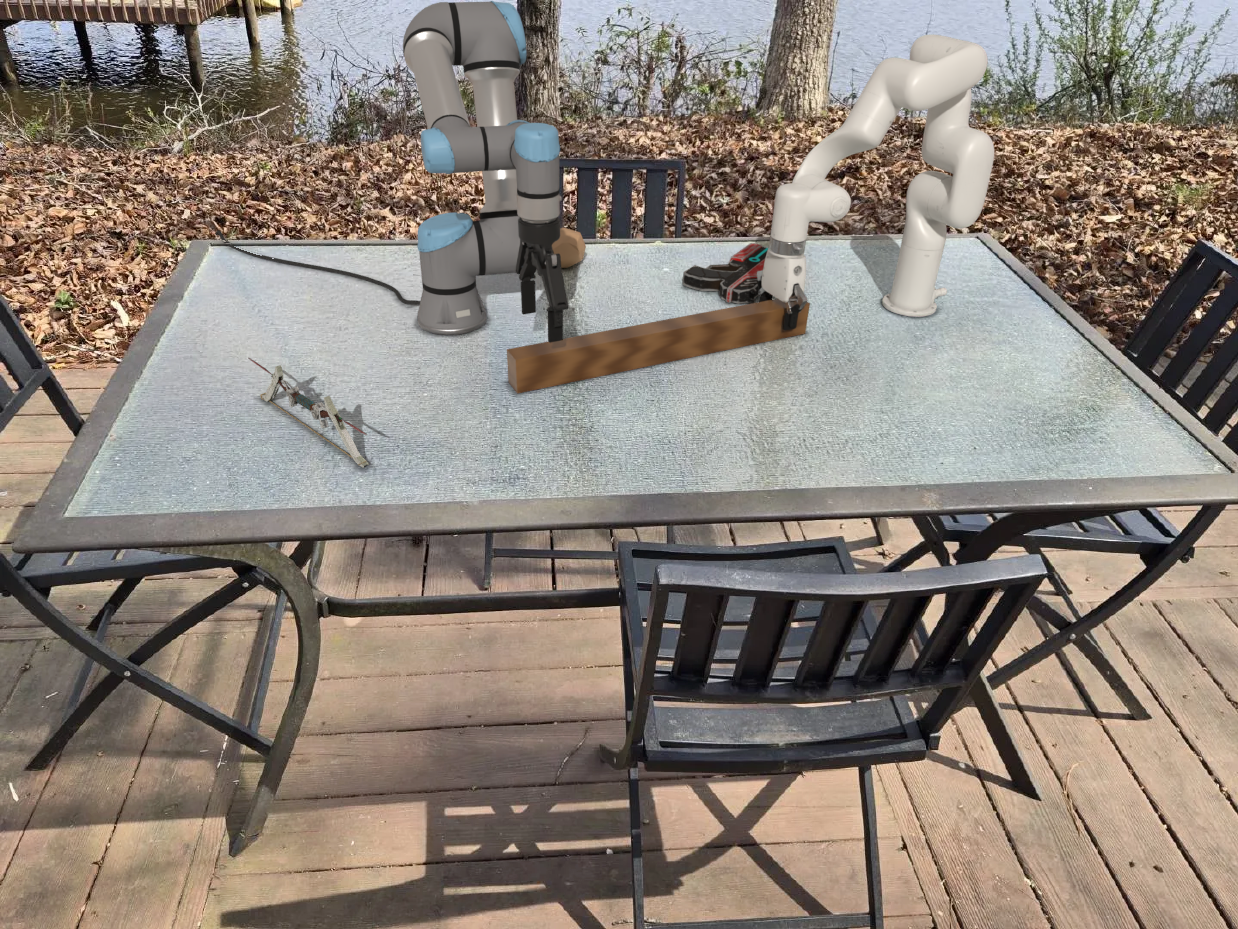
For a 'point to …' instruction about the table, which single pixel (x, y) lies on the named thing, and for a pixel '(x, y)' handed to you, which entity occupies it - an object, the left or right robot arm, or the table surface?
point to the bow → (313, 411)
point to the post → (648, 344)
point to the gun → (731, 275)
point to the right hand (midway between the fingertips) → (776, 320)
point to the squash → (569, 247)
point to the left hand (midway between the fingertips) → (541, 326)
